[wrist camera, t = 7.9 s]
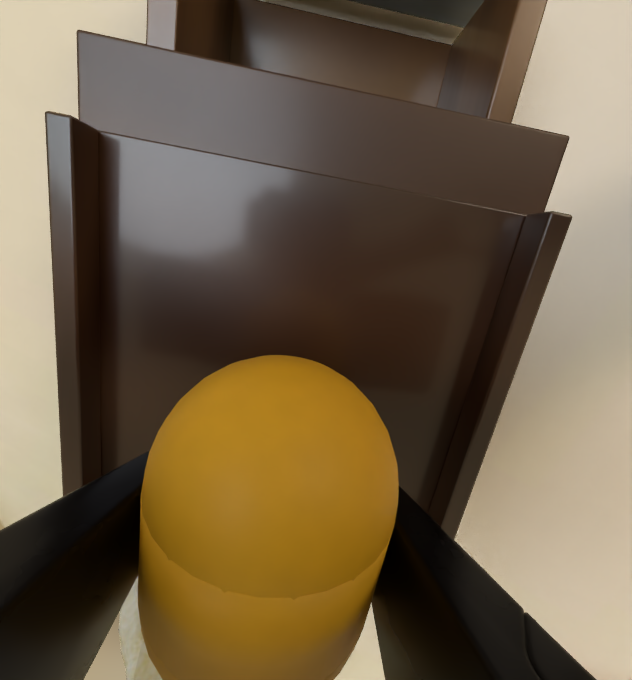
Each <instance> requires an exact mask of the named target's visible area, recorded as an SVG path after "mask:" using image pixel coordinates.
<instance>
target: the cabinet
mask: <svg viewBox="0 0 632 680" xmlns="http://www.w3.org/2000/svg"><path fill="white" fill-rule="evenodd" d="M77 67H78V111H79V120H80V121H82V122H84V123H86V124H88V125H89V126H91V127H93V128H95V129H97V130H101V131H106V132H111V133H116V134H121V135H126V136H131V137H136V138H141V139H146V140H151V141H157V142H162V143H167V144H172V145H177V146H182V147H187V148H192V149H197V150H202V151H207V152H212V153H217V154H223V155H228V156H233V157H238V158H243V159H248V160H253V161H258V162H263V163H268V164H273V165H278V166H283V167H289V168H294V169H299V170H304V171H309V172H314V173H319V174H324V175H329V176H334V177H339V178H344V179H349V180H355V181H360V182H365V183H370V184H375V185H380V186H385V187H390V188H395V189H400V190H405V191H410V192H416V193H421V194H426V195H431V196H436V197H441V198H446V199H451V200H456V201H461V202H466V203H471V204H476V205H482V206H487V207H492V208H497V209H502V210H507V211H512V212H517V213H522V214H527V215H528V214H534V213H542V212H544V210H545V208H546V205H547V202H548V199H549V196H550V193H551V190H552V187H553V184H554V181H555V178H556V176H557V173H558V170H559V167H560V164H561V161H562V158H563V155H564V152H565V149H566V146H567V143H568V141H569V136H566V135H562V134H557V133H552V132H548V131H543V130H539V129H534V128H529V127H525V126H520V125H516V124H511V123H506V122H502V121H497V120H492V119H488V118H483V117H479V116H474V115H469V114H465V113H460V112H456V111H451V110H446V109H442V108H437V107H433V106H428V105H423V104H419V103H414V102H410V101H405V100H400V99H396V98H391V97H387V96H382V95H377V94H373V93H368V92H363V91H359V90H354V89H350V88H345V87H340V86H336V85H331V84H327V83H322V82H317V81H313V80H308V79H304V78H299V77H294V76H290V75H285V74H281V73H276V72H271V71H267V70H262V69H257V68H253V67H248V66H244V65H239V64H234V63H230V62H225V61H221V60H216V59H211V58H207V57H202V56H198V55H193V54H188V53H184V52H179V51H175V50H170V49H165V48H161V47H156V46H151V45H147V44H142V43H138V42H133V41H128V40H124V39H119V38H115V37H110V36H105V35H101V34H96V33H92V32H87V31H82V30H77Z"/></svg>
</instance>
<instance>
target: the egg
mask: <svg viewBox="0 0 632 680" xmlns="http://www.w3.org/2000/svg"><path fill="white" fill-rule="evenodd" d="M398 494H399V481H398V466H397V461H396V457H395V453H394V450H393V446H392V443H391V440H390V436H389V433H388V430H387V428H386V427H385V425H384V423H383V421H382V420H381V418H380V416H379V414H378V413H377V411H376V409H375V407H374V406H373V404H372V403H371V402H370V401H369V400H368V399H367V397H366V396H365V395H364V394H363V393H362V392H361V391H360V390H359V389H358V388H357V387H356V386H355V385H354V384H353V383H352V382H351V381H350V380H348V379H347V378H346V377H344V376H342V375H341V374H339V373H337V372H336V371H334V370H333V369H331V368H329V367H327V366H325V365H323V364H321V363H318V362H315V361H312V360H309V359H305V358H300V357H295V356H287V355H266V356H259V357H255V358H250V359H246V360H241V361H238V362H235V363H232V364H230V365H228V366H226V367H224V368H222V369H220V370H218V371H216V372H214V373H212V374H211V375H209V376H207V377H205V378H204V379H203V380H201V381H200V382H199V383H198V384H197V385H196V386H195V387H193V388H192V389H191V390H190V391H189V392H188V393H187V394H186V395H184V396H183V397H182V398H181V399H180V400H179V401H178V403H177V404H176V405H175V407H174V408H173V410H172V411H171V412H170V414H169V415H168V416H167V418H166V419H165V421H164V423H163V424H162V426H161V428H160V429H159V431H158V433H157V435H156V438H155V440H154V442H153V445H152V447H151V449H150V452H149V455H148V459H147V464H146V468H145V473H144V479H143V485H142V491H141V508H140V538H139V567H138V609H139V618H140V625H141V632H142V635H143V639H144V642H145V646H146V649H147V652H148V656H149V658H150V659H151V661H152V663H153V664H154V666H155V668H156V669H157V671H158V673H159V674H160V676H161V678H162V680H333V679H334V678H335V677H336V676H337V675H338V674H339V673H340V671H341V670H342V668H343V666H344V665H345V663H346V661H347V660H348V658H349V657H350V655H351V653H352V652H353V650H354V647H355V645H356V643H357V641H358V639H359V637H360V634H361V632H362V630H363V627H364V624H365V621H366V617H367V614H368V611H369V608H370V604H371V601H372V598H373V594H374V591H375V588H376V584H377V581H378V578H379V574H380V571H381V568H382V565H383V561H384V558H385V555H386V551H387V548H388V545H389V541H390V538H391V535H392V531H393V528H394V524H395V518H396V512H397V507H398Z"/></svg>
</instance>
